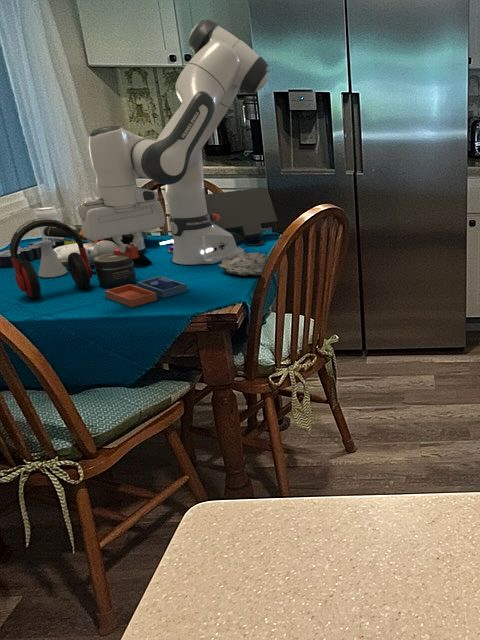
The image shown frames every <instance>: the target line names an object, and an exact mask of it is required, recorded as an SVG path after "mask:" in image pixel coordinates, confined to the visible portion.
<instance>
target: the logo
mask: <svg viewBox="0 0 480 640" xmlns="http://www.w3.org/2000/svg"><path fill="white" fill-rule="evenodd" d="M45 239H46V240H50V241H52V243H51V245H52V248H53V249H55V248H57V247H60V246H64V245H65V244H64V241H72V239H70V238H64V239H58V238H45ZM38 242H39V241H33V242H29V243H28V245H27V246H26V247H24V246H18V250H17V259H18V263H20V262H22V261H28V262H31V261H34V260H35V259H41V246H40V244H39V243H38ZM59 243H60V244H59ZM11 257H12V256H11V254H10V248H9V249H6V250H2V251H0V268H12V267H13V263H12V259H11ZM13 268H14V267H13Z"/></svg>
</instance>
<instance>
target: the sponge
mask: <svg viewBox="0 0 480 640" xmlns="http://www.w3.org/2000/svg"><path fill="white" fill-rule="evenodd" d="M82 241H83V244H85V243H88V242H89V240H82ZM75 243H76V242H75V240H71V241H64V244H65V245H70V244H75ZM59 244H60V243H59Z"/></svg>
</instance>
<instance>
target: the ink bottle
mask: <svg viewBox="0 0 480 640" xmlns="http://www.w3.org/2000/svg"><path fill="white" fill-rule="evenodd" d="M141 234H142V231H141ZM133 239H134V235H132V233H130V234H125V235H122V240H121V242H122V243H123V244H129V245H130V243H131V242H133ZM114 243H115V244H116V245H117V246H119V245H118V244H117V243H116V242H115V241H114ZM139 246H140V249H138V250H139V251H141V252H142V253H144V252H145V251H146V244H145V239H144V238H143V234H142V236H141V239H140V242H139Z"/></svg>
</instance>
